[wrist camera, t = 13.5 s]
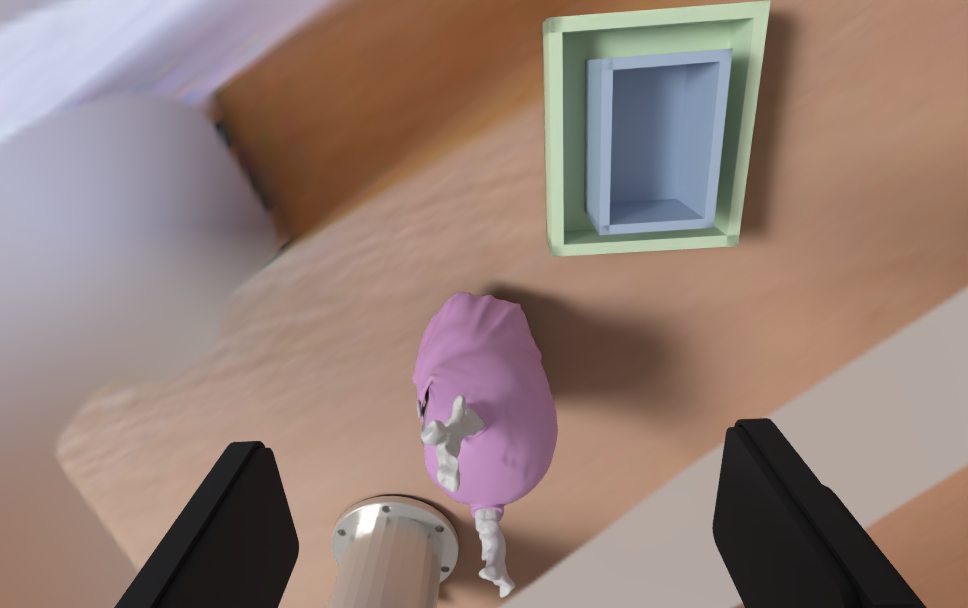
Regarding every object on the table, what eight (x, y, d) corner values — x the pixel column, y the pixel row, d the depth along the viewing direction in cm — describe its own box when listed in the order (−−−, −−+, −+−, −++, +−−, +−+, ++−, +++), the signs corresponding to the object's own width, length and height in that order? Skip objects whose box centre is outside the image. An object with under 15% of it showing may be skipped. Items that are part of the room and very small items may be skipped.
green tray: (715, 229, 40) (737, 246, 36) (546, 239, 40) (552, 256, 37) (740, 7, 34) (770, 0, 30) (542, 23, 34) (548, 17, 31)
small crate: (682, 204, 38) (713, 227, 33) (584, 211, 38) (599, 235, 33) (694, 51, 34) (732, 48, 29) (584, 60, 34) (602, 58, 29)
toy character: (406, 282, 42) (339, 449, 24) (536, 269, 41) (571, 430, 23) (430, 409, 47) (389, 628, 29) (546, 399, 46) (582, 617, 28)
